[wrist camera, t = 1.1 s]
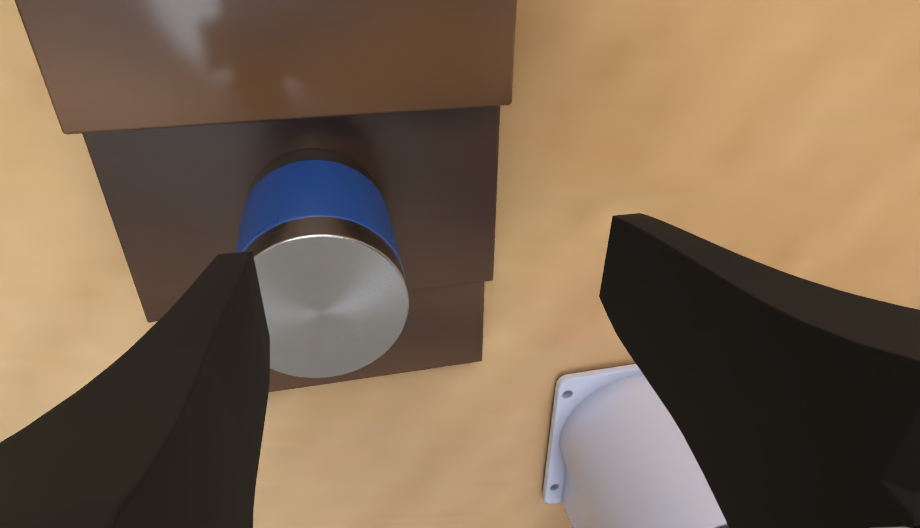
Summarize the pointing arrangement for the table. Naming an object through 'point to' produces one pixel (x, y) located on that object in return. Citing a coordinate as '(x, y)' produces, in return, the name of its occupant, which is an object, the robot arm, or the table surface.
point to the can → (324, 263)
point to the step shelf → (291, 133)
